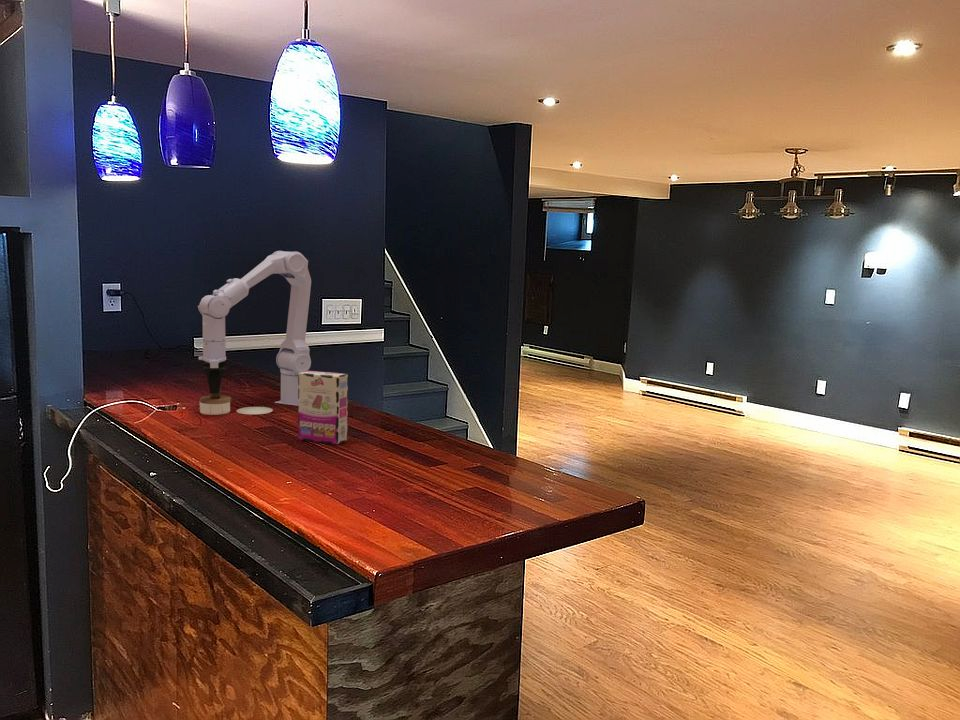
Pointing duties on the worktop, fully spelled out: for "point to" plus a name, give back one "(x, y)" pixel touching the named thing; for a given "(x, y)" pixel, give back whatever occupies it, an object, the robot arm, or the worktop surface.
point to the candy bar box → (322, 407)
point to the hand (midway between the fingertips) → (214, 390)
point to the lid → (215, 399)
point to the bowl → (214, 408)
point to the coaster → (254, 410)
